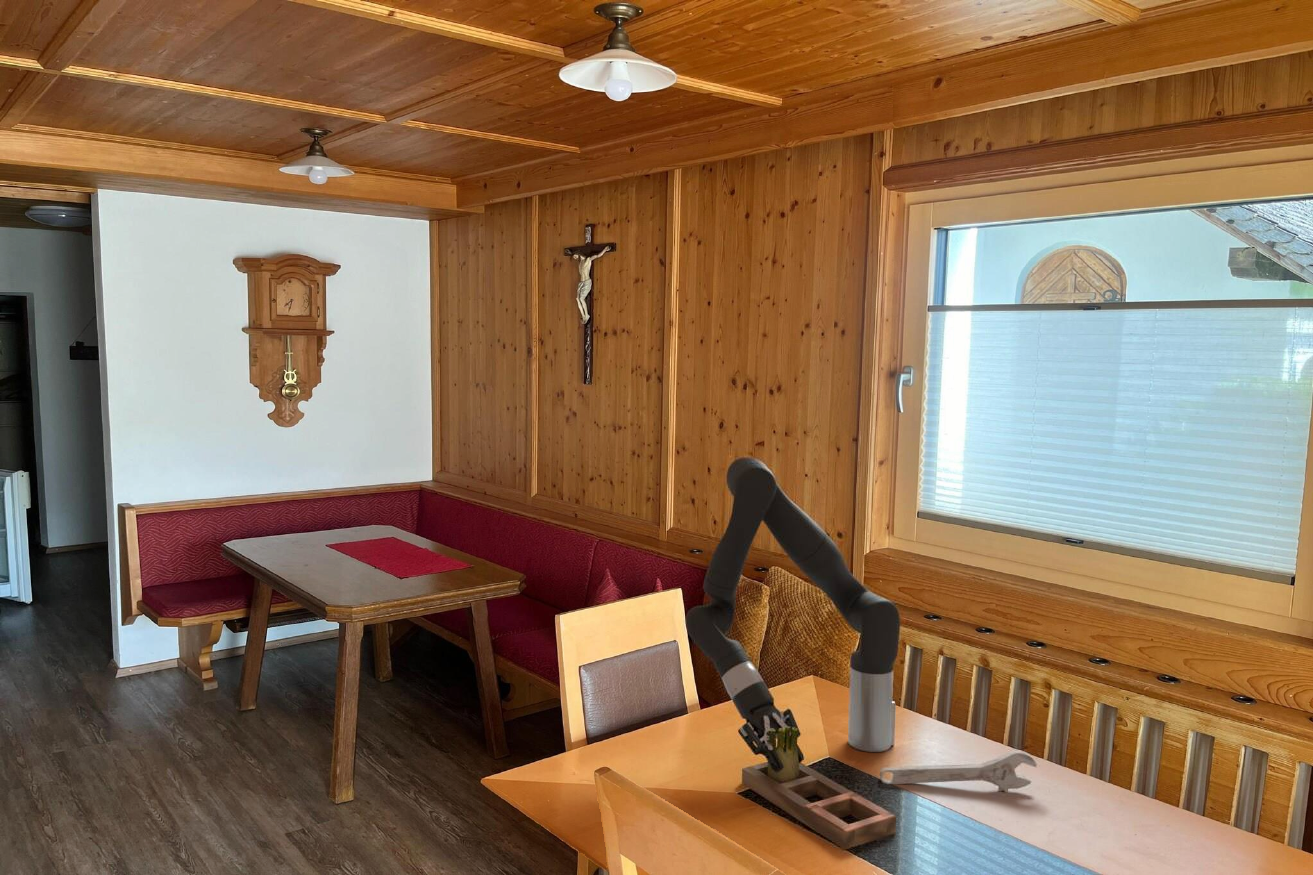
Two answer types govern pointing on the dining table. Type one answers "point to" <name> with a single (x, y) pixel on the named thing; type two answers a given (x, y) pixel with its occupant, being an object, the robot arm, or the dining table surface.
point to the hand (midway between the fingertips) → (790, 765)
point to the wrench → (967, 772)
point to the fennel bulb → (785, 754)
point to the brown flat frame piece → (823, 805)
